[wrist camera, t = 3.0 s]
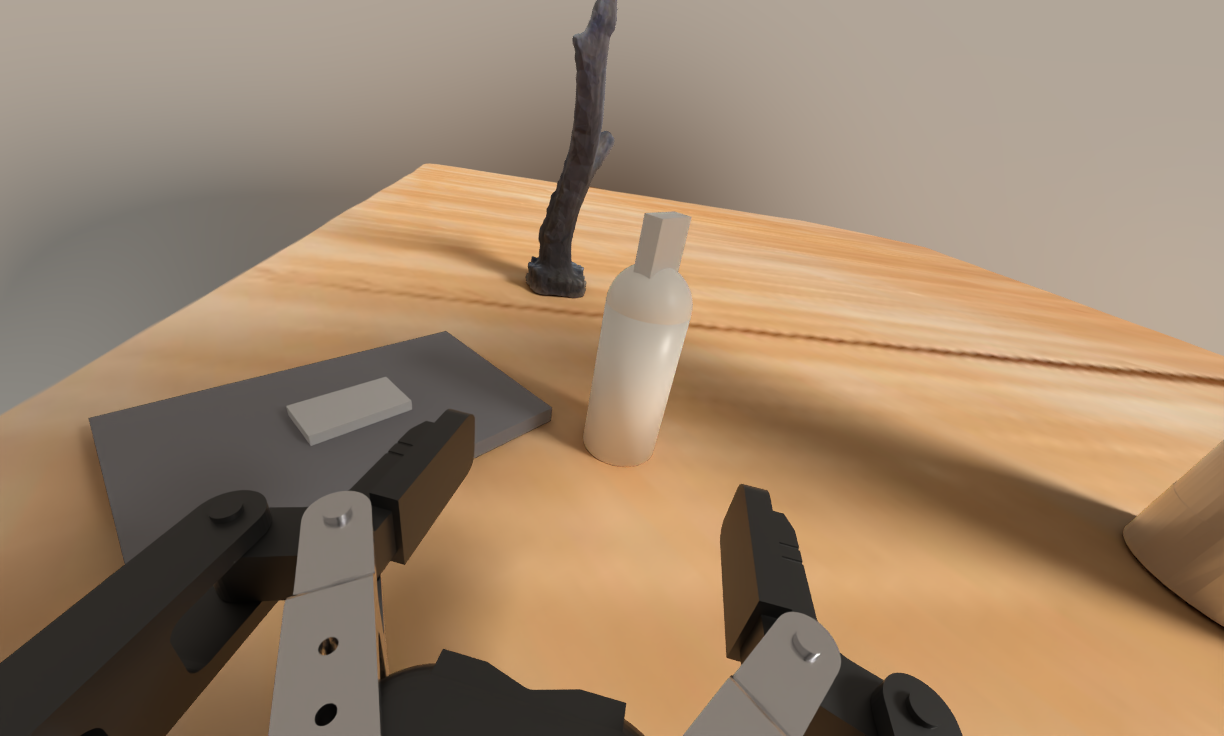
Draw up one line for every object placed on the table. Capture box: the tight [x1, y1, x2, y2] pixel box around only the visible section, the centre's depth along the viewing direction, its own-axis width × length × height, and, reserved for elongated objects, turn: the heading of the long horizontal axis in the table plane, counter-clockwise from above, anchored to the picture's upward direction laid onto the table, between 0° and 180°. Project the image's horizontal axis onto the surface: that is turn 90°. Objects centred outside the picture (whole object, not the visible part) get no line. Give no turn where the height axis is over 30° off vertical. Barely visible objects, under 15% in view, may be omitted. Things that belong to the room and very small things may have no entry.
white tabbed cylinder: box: [583, 212, 693, 467], centre depth 23 cm, size 4×4×14 cm
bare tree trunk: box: [526, 0, 617, 298], centre depth 40 cm, size 12×8×25 cm
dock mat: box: [89, 331, 552, 564], centre depth 23 cm, size 18×12×2 cm, turn 137°
